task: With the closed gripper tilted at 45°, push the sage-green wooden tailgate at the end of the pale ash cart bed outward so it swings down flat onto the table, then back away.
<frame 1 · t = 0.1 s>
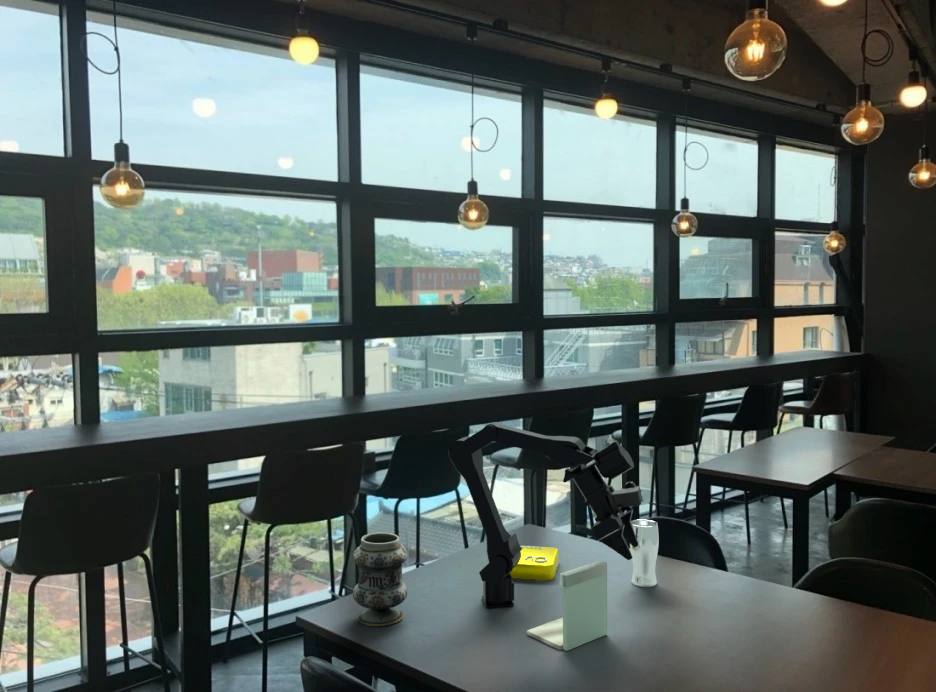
hand: (633, 552, 161), 15 cm above the table, tool tilted 35°, fingers open, 9 cm apart
cart bed: (587, 643, 151), on the table
apothecary jar: (380, 618, 165), on the table
element tile: (527, 571, 195), on the table
tailgate: (584, 604, 151), point 8 cm above the table, hinge at 0.0°
beer glass: (644, 583, 184), on the table
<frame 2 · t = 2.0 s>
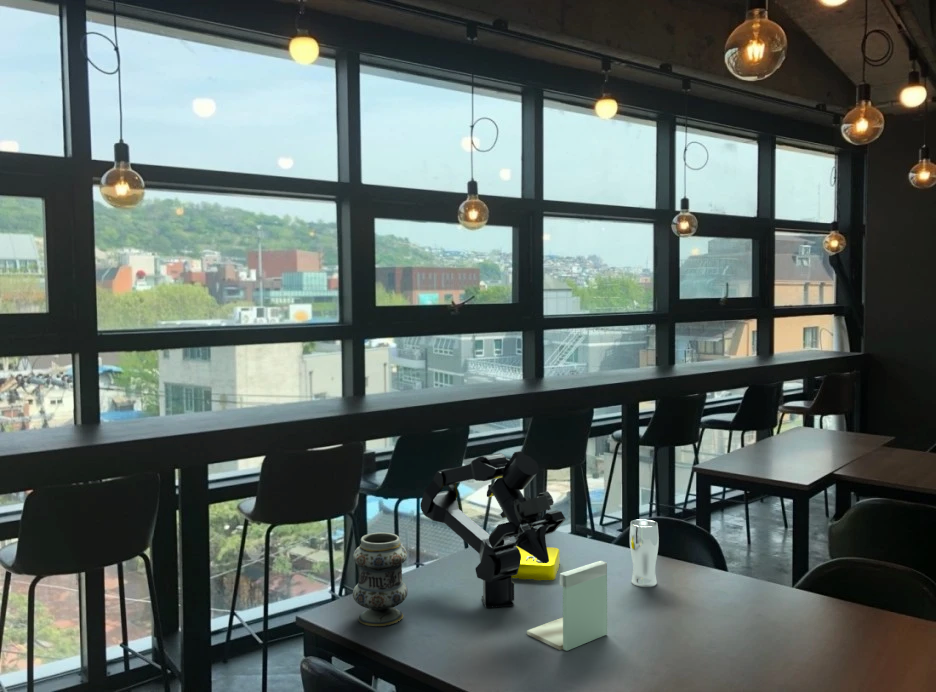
hand: (547, 562, 159), 14 cm above the table, tool tilted 45°, fingers closed
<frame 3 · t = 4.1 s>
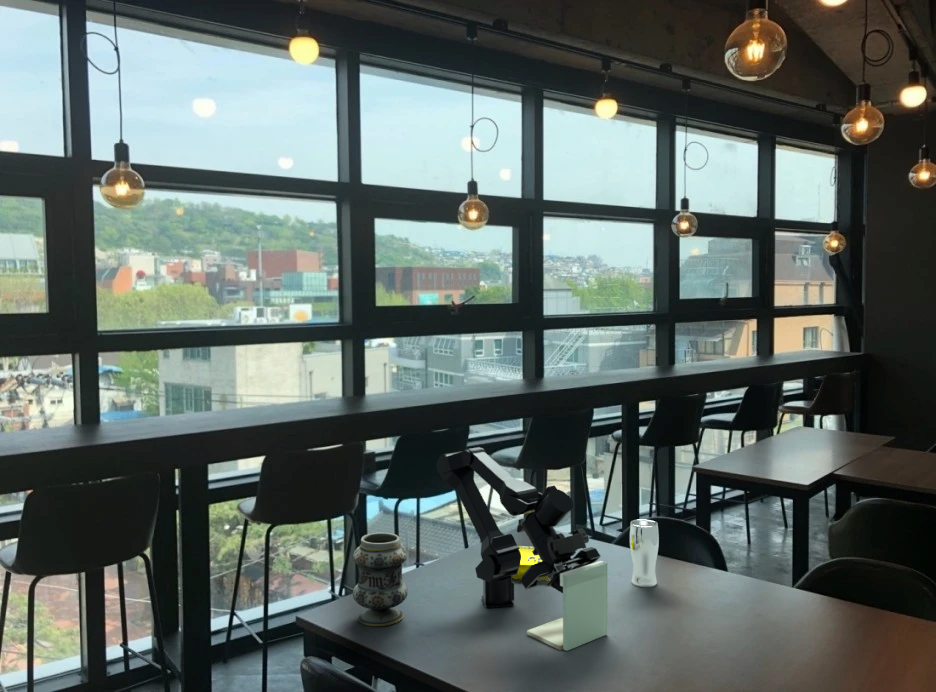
hand: (582, 604, 151), 8 cm above the table, tool tilted 45°, fingers closed, pressing on tailgate
tailgate: (584, 604, 151), point 8 cm above the table, hinge at 0.4°, touching gripper
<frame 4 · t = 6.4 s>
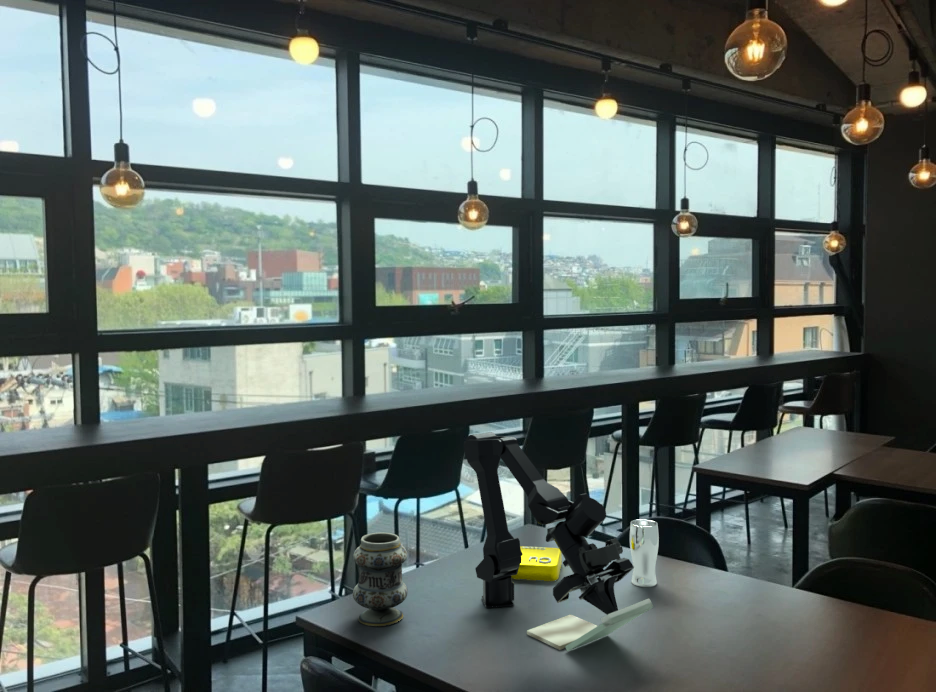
hand: (617, 618, 144), 8 cm above the table, tool tilted 45°, fingers closed
tailgate: (608, 625, 146), point 6 cm above the table, hinge at 51.2°
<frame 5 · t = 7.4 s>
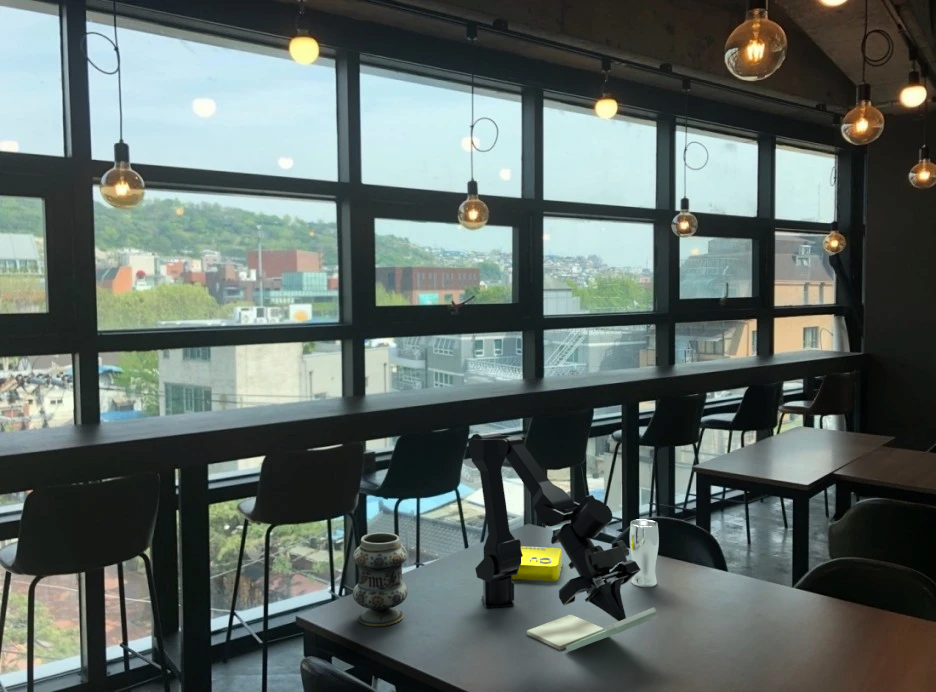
hand: (623, 621, 143), 8 cm above the table, tool tilted 45°, fingers closed
tailgate: (610, 629, 146), point 5 cm above the table, hinge at 58.2°
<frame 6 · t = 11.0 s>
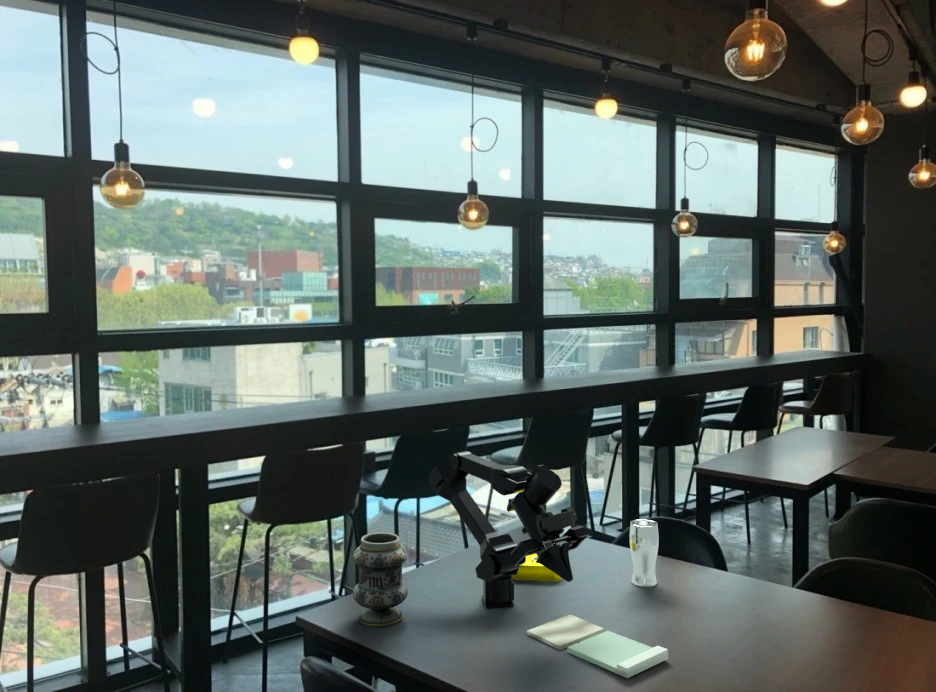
hand: (570, 580, 154), 12 cm above the table, tool tilted 45°, fingers closed
tailgate: (616, 650, 145), point 1 cm above the table, hinge at 88.1°
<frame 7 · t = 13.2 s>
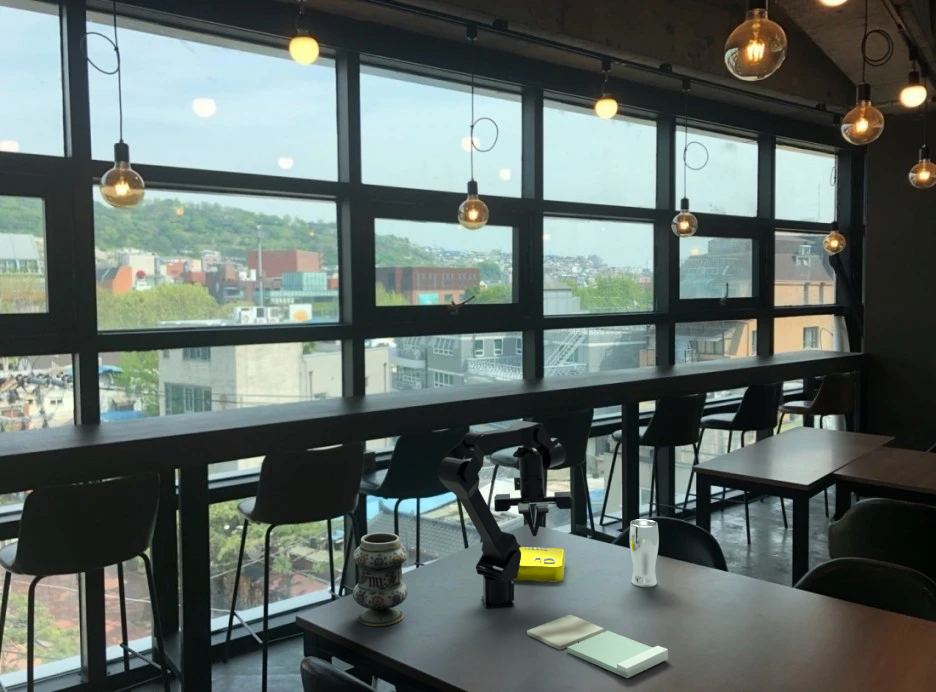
hand: (534, 535, 182), 13 cm above the table, tool pointing down, fingers closed
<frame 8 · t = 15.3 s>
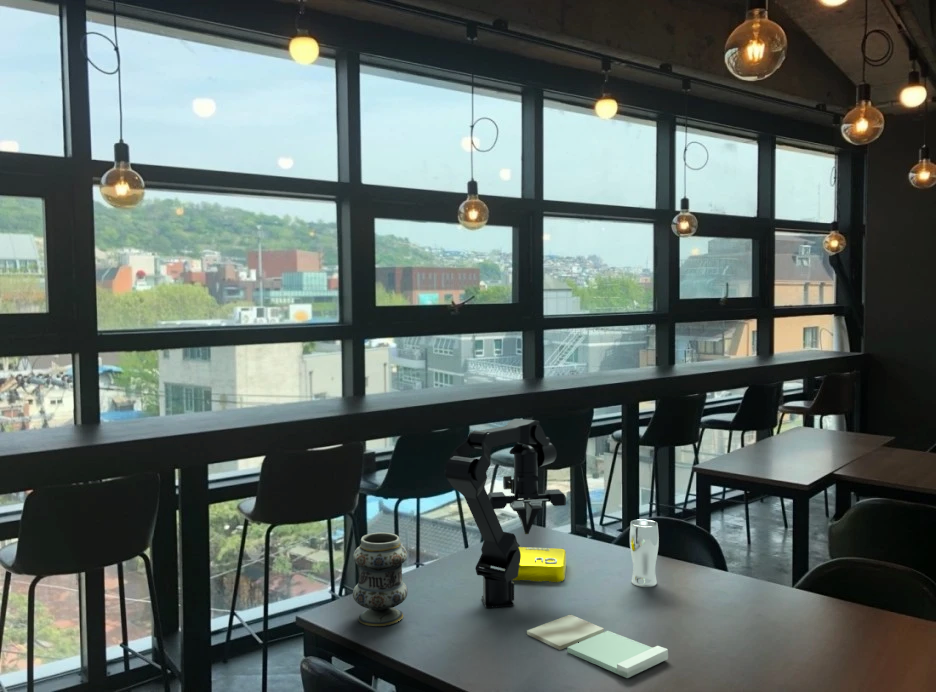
hand: (526, 533, 182), 13 cm above the table, tool pointing down, fingers closed
at the end: tailgate at +88° (first picture: +0°); beer glass moved 0.2 cm from its start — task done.
